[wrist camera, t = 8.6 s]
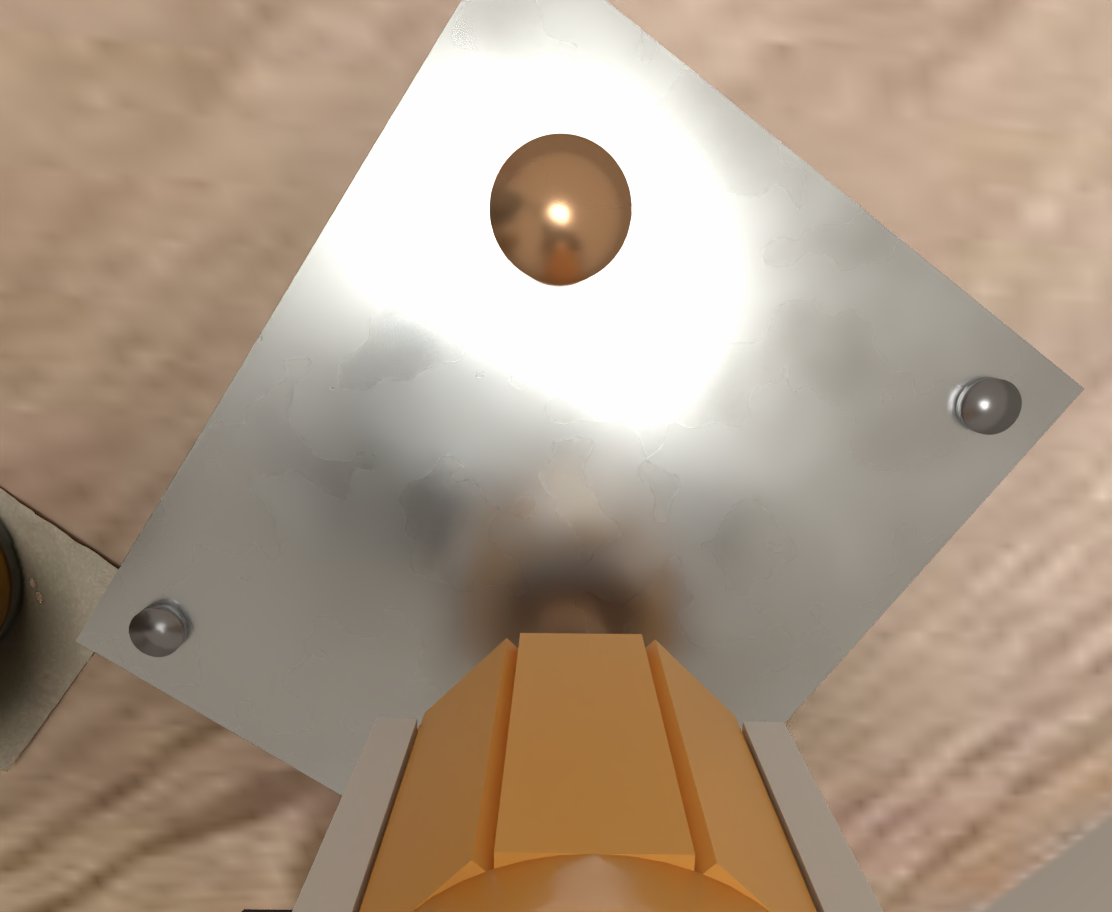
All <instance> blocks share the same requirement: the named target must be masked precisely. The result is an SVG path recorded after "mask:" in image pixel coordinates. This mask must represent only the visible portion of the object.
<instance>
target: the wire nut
mask: <svg viewBox="0 0 1112 912" xmlns="http://www.w3.org/2000/svg"><path fill="white" fill-rule="evenodd" d="M359 912H817V910H816V908H815V906H814V903H813V901H812V899H811V896H810V894H809V891H808V889H807V887H806V884H805V882H804V879H803V877H802V875H801V872H800V870H799V867H798V865H797V863H796V860H795V858H794V855H793V853H792V851H791V848H790V846H789V843H788V841H787V839H786V836H785V834H784V831H783V829H782V827H781V824H780V822H779V819H778V817H777V815H776V812H775V810H774V807H773V805H772V803H771V800H770V798H769V796H768V793H767V791H766V788H765V786H764V784H763V781H762V779H761V776H760V774H759V772H758V769H757V767H756V764H755V762H754V760H753V757H752V755H751V752H750V750H749V748H748V745H747V743H746V740H745V738H744V736H743V733H742V731H741V728H740V726H739V724H738V721H737V719H736V716H735V715H733V714H732V713H731V712H730V711H729V710H728V709H727V708H726V707H725V706H724V705H723V704H722V703H721V702H720V701H719V700H718V699H717V698H716V697H715V696H714V695H713V694H712V693H711V692H710V691H708V690H707V689H706V688H705V687H704V686H703V685H702V684H701V683H700V682H699V681H698V680H697V679H696V678H695V677H694V676H693V675H692V674H691V673H690V672H689V671H688V670H687V669H686V668H685V667H683V666H682V665H681V664H680V663H679V662H678V661H677V660H676V659H675V658H674V657H673V656H672V655H671V654H670V653H669V652H668V651H667V650H666V649H665V648H664V647H663V646H662V645H661V644H660V643H658V642H657V641H656V640H654V641H653V642H651V643H650V644H649V645H648V646H647V647H646V648H645V645H644V641H643V637H642V634H578V633H520V638H519V647H518V648H517V647H516V646H515V645H514V644H513V643H512V642H511V641H510V640H508V639H507V638H506V639H505V640H504V641H503V642H502V643H501V644H499V645H498V646H497V647H496V648H495V649H494V650H493V651H492V652H491V653H490V654H489V655H487V656H486V657H485V658H484V659H483V660H482V661H481V662H480V663H479V664H478V665H476V666H475V667H474V668H473V669H472V670H471V671H470V672H469V673H468V674H467V675H465V676H464V677H463V678H462V679H461V680H460V681H459V682H458V683H457V684H456V685H455V686H453V687H452V688H451V689H450V690H449V691H448V692H447V693H446V694H445V695H444V696H442V697H441V698H440V699H439V700H438V701H437V702H436V703H435V704H434V705H433V706H432V707H430V708H429V709H428V710H427V711H426V712H425V713H424V715H423V718H422V721H421V724H420V725H419V727H418V733H417V736H416V739H415V743H414V746H413V749H412V752H411V755H410V758H409V761H408V764H407V767H406V770H405V773H404V776H403V779H402V782H401V785H400V788H399V791H398V794H397V797H396V801H395V804H394V807H393V810H392V813H391V816H390V819H389V822H388V825H387V828H386V831H385V834H384V837H383V840H382V843H381V846H380V849H379V852H378V856H377V859H376V862H375V865H374V868H373V871H372V874H371V877H370V880H369V883H368V886H367V889H366V892H365V895H364V898H363V901H362V904H361V907H360V911H359Z"/></svg>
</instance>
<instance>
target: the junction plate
mask: <svg viewBox="0 0 1112 912" xmlns="http://www.w3.org/2000/svg"><path fill="white" fill-rule="evenodd" d="M1083 390H1084V388H1083V387H1082V386H1080V385H1079V384H1078V383H1077V382H1076V381H1074V380H1073V379H1072V378H1071V377H1069V376H1068V375H1067V374H1066V373H1064V372H1063V371H1062V370H1061V369H1060V368H1058V367H1057V366H1056V365H1055V364H1053V363H1052V362H1051V361H1050V360H1048V359H1047V358H1046V357H1045V356H1044V355H1042V354H1041V353H1040V352H1039V351H1037V350H1036V349H1035V348H1034V347H1032V346H1031V345H1030V344H1029V343H1028V342H1026V341H1025V340H1024V339H1023V338H1021V337H1020V336H1019V335H1018V334H1016V333H1015V332H1014V331H1013V330H1011V329H1010V328H1009V327H1008V326H1007V325H1005V324H1004V323H1003V322H1002V321H1000V320H999V319H998V318H997V317H995V316H994V315H993V314H992V313H991V312H989V311H988V310H987V309H986V308H984V307H983V306H982V305H981V304H979V303H978V302H977V301H976V300H975V299H973V298H972V297H971V296H970V295H968V294H967V293H966V292H965V291H963V290H962V289H961V288H960V287H959V286H957V285H956V284H955V283H954V282H952V281H951V280H950V279H949V278H947V277H946V276H945V275H944V274H943V273H941V272H940V271H939V270H938V269H936V268H935V267H934V266H933V265H931V264H930V263H929V262H928V261H927V260H925V259H924V258H923V257H922V256H920V255H919V254H918V253H917V252H915V251H914V250H913V249H912V248H911V247H909V246H908V245H907V244H906V243H904V242H903V241H902V240H901V239H899V238H898V237H897V236H896V235H894V234H893V233H892V232H891V231H890V230H888V229H887V228H886V227H885V226H883V225H882V224H881V223H880V222H878V221H877V220H876V219H875V218H874V217H872V216H871V215H870V214H869V213H867V212H866V211H865V210H864V209H862V208H861V207H860V206H859V205H858V204H856V203H855V202H854V201H853V200H851V199H850V198H849V197H848V196H846V195H845V194H844V193H843V192H842V191H840V190H839V189H838V188H837V187H835V186H834V185H833V184H832V183H830V182H829V181H828V180H827V179H826V178H824V177H823V176H822V175H821V174H819V173H818V172H817V171H816V170H814V169H813V168H812V167H811V166H810V165H808V164H807V163H806V162H805V161H803V160H802V159H801V158H800V157H798V156H797V155H796V154H795V153H793V152H792V151H791V150H790V149H789V148H787V147H786V146H785V145H784V144H782V143H781V142H780V141H779V140H777V139H776V138H775V137H774V136H773V135H771V134H770V133H769V132H768V131H766V130H765V129H764V128H763V127H761V126H760V125H759V124H758V123H757V122H755V121H754V120H753V119H752V118H750V117H749V116H748V115H747V114H745V113H744V112H743V111H742V110H741V109H739V108H738V107H737V106H736V105H734V104H733V103H732V102H731V101H729V100H728V99H727V98H726V97H725V96H723V95H722V94H721V93H720V92H718V91H717V90H716V89H715V88H713V87H712V86H711V85H710V84H709V83H707V82H706V81H705V80H704V79H702V78H701V77H700V76H699V75H697V74H696V73H695V72H694V71H693V70H691V69H690V68H689V67H688V66H686V65H685V64H684V63H683V62H681V61H680V60H679V59H678V58H676V57H675V56H674V55H673V54H672V53H670V52H669V51H668V50H667V49H665V48H664V47H663V46H662V45H660V44H659V43H658V42H657V41H656V40H654V39H653V38H652V37H651V36H649V35H648V34H647V33H646V32H644V31H643V30H642V29H641V28H640V27H638V26H637V25H636V24H635V23H633V22H632V21H631V20H630V19H628V18H627V17H626V16H625V15H624V14H622V13H621V12H620V11H619V10H617V9H616V8H615V7H614V6H612V5H611V4H610V3H609V2H608V1H606V0H461V2H460V4H459V5H458V7H457V9H456V10H455V12H454V14H453V15H452V17H451V19H450V20H449V22H448V24H447V25H446V27H445V29H444V30H443V32H442V34H441V35H440V37H439V39H438V40H437V42H436V44H435V45H434V47H433V49H432V50H431V52H430V54H429V55H428V57H427V59H426V60H425V62H424V64H423V65H422V67H421V69H420V70H419V72H418V73H417V75H416V77H415V78H414V80H413V82H412V83H411V85H410V87H409V88H408V90H407V92H406V93H405V95H404V97H403V98H402V100H401V102H400V103H399V105H398V107H397V108H396V110H395V112H394V113H393V115H392V117H391V118H390V120H389V122H388V123H387V125H386V127H385V128H384V130H383V132H382V133H381V135H380V137H379V138H378V140H377V142H376V143H375V145H374V147H373V148H372V150H371V152H370V153H369V155H368V156H367V158H366V160H365V161H364V163H363V165H362V166H361V168H360V170H359V171H358V173H357V175H356V176H355V178H354V180H353V181H352V183H351V185H350V186H349V188H348V190H347V191H346V193H345V195H344V196H343V198H342V200H341V201H340V203H339V205H338V206H337V208H336V210H335V211H334V213H333V215H332V216H331V218H330V220H329V221H328V223H327V225H326V226H325V228H324V230H323V231H322V233H321V235H320V236H319V238H318V239H317V241H316V243H315V244H314V246H313V248H312V249H311V251H310V253H309V254H308V256H307V258H306V259H305V261H304V263H303V264H302V266H301V268H300V269H299V271H298V273H297V274H296V276H295V278H294V279H293V281H292V283H291V284H290V286H289V288H288V289H287V291H286V293H285V294H284V296H283V298H282V299H281V301H280V303H279V304H278V306H277V308H276V309H275V311H274V313H273V314H272V316H271V318H270V319H269V321H268V322H267V324H266V326H265V327H264V329H263V331H262V332H261V334H260V336H259V337H258V339H257V341H256V342H255V344H254V346H253V347H252V349H251V351H250V352H249V354H248V356H247V357H246V359H245V361H244V362H243V364H242V366H241V367H240V369H239V371H238V372H237V374H236V376H235V377H234V379H233V381H232V382H231V384H230V386H229V387H228V389H227V391H226V392H225V394H224V396H223V397H222V399H221V401H220V402H219V404H218V406H217V407H216V409H215V410H214V412H213V414H212V415H211V417H210V419H209V420H208V422H207V424H206V425H205V427H204V429H203V430H202V432H201V434H200V435H199V437H198V439H197V440H196V442H195V444H194V445H193V447H192V449H191V450H190V452H189V454H188V455H187V457H186V459H185V460H184V462H183V464H182V465H181V467H180V469H179V470H178V472H177V474H176V475H175V477H174V479H173V480H172V482H171V484H170V485H169V487H168V489H167V490H166V492H165V493H164V495H163V497H162V498H161V500H160V502H159V503H158V505H157V507H156V508H155V510H154V512H153V513H152V515H151V517H150V518H149V520H148V522H147V523H146V525H145V527H144V528H143V530H142V532H141V533H140V535H139V537H138V538H137V540H136V542H135V543H134V545H133V547H132V548H131V550H130V552H129V553H128V555H127V557H126V558H125V560H124V562H123V563H122V565H121V567H120V568H119V570H118V572H117V573H116V575H115V576H114V578H113V580H112V581H111V583H110V585H109V586H108V588H107V590H106V591H105V593H104V595H103V596H102V598H101V600H100V601H99V603H98V605H97V606H96V608H95V610H94V611H93V613H92V615H91V616H90V618H89V620H88V621H87V623H86V625H85V626H84V628H83V630H82V631H81V633H80V635H79V636H78V638H77V640H76V642H78V643H80V644H82V645H83V646H85V647H87V648H88V649H90V650H92V651H94V652H95V653H97V654H99V655H100V656H102V657H104V658H106V659H107V660H109V661H111V662H113V663H114V664H116V665H118V666H119V667H121V668H123V669H125V670H126V671H128V672H130V673H131V674H133V675H135V676H137V677H138V678H140V679H142V680H144V681H145V682H147V683H149V684H150V685H152V686H154V687H156V688H157V689H159V690H161V691H162V692H164V693H166V694H168V695H169V696H171V697H173V698H174V699H176V700H178V701H180V702H181V703H183V704H185V705H187V706H188V707H190V708H192V709H193V710H195V711H197V712H199V713H200V714H202V715H204V716H205V717H207V718H209V719H211V720H212V721H214V722H216V723H218V724H219V725H221V726H223V727H224V728H226V729H228V730H230V731H231V732H233V733H235V734H236V735H238V736H240V737H242V738H243V739H245V740H247V741H249V742H250V743H252V744H254V745H255V746H257V747H259V748H261V749H262V750H264V751H266V752H267V753H269V754H271V755H273V756H274V757H276V758H278V759H280V760H281V761H283V762H285V763H286V764H288V765H290V766H292V767H293V768H295V769H297V770H298V771H300V772H302V773H304V774H305V775H307V776H309V777H310V778H312V779H314V780H316V781H317V782H319V783H321V784H323V785H324V786H326V787H328V788H329V789H331V790H333V791H335V792H336V793H338V794H340V795H341V796H342V795H343V793H344V791H345V788H346V786H347V784H348V781H349V779H350V777H351V775H352V772H353V770H354V768H355V765H356V763H357V761H358V758H359V756H360V754H361V751H362V749H363V747H364V745H365V742H366V740H367V738H368V735H369V733H370V731H371V728H372V726H373V724H374V722H375V719H376V718H417V728H418V727H419V725H420V724H421V721H422V718H423V715H424V713H425V712H426V711H427V710H428V709H429V708H430V707H432V706H433V705H434V704H435V703H436V702H437V701H438V700H439V699H440V698H441V697H442V696H444V695H445V694H446V693H447V692H448V691H449V690H450V689H451V688H452V687H453V686H455V685H456V684H457V683H458V682H459V681H460V680H461V679H462V678H463V677H464V676H465V675H467V674H468V673H469V672H470V671H471V670H472V669H473V668H474V667H475V666H476V665H478V664H479V663H480V662H481V661H482V660H483V659H484V658H485V657H486V656H487V655H489V654H490V653H491V652H492V651H493V650H494V649H495V648H496V647H497V646H498V645H499V644H501V643H502V642H503V641H504V640H505V639H506V638H507V639H508V640H510V641H511V642H512V643H513V644H514V645H515V646H516V647H517V648H518V647H519V638H520V633H578V634H642V637H643V641H644V645H645V648H646V647H647V646H648V645H649V644H650V643H651V642H653V641H654V640H656V641H657V642H658V643H660V644H661V645H662V646H663V647H664V648H665V649H666V650H667V651H668V652H669V653H670V654H671V655H672V656H673V657H674V658H675V659H676V660H677V661H678V662H679V663H680V664H681V665H682V666H683V667H685V668H686V669H687V670H688V671H689V672H690V673H691V674H692V675H693V676H694V677H695V678H696V679H697V680H698V681H699V682H700V683H701V684H702V685H703V686H704V687H705V688H706V689H707V690H708V691H710V692H711V693H712V694H713V695H714V696H715V697H716V698H717V699H718V700H719V701H720V702H721V703H722V704H723V705H724V706H725V707H726V708H727V709H728V710H729V711H730V712H731V713H732V714H733V715H735V716H736V719H737V721H738V724H739V726H740V728H741V731H742V727H743V722H784V723H785V722H786V721H787V720H788V719H789V718H790V717H791V716H792V715H793V714H794V712H795V711H796V710H797V709H798V708H799V707H800V706H801V705H802V703H803V702H804V701H805V700H806V699H807V698H808V697H809V696H810V695H811V693H812V692H813V691H814V690H815V689H816V688H817V687H818V686H819V685H820V683H821V682H822V681H823V680H824V679H825V678H826V677H827V676H828V674H829V673H830V672H831V671H832V670H833V669H834V668H835V667H836V666H837V664H838V663H839V662H840V661H841V660H842V659H843V658H844V657H845V655H846V654H847V653H848V652H849V651H850V650H851V649H852V648H853V647H854V645H855V644H856V643H857V642H858V641H859V640H860V639H861V638H862V636H863V635H864V634H865V633H866V632H867V631H868V630H869V629H870V628H871V626H872V625H873V624H874V623H875V622H876V621H877V620H878V619H879V618H880V616H881V615H882V614H883V613H884V612H885V611H886V610H887V609H888V607H889V606H890V605H891V604H892V603H893V602H894V601H895V600H896V599H897V597H898V596H899V595H900V594H901V593H902V592H903V591H904V590H905V588H906V587H907V586H908V585H909V584H910V583H911V582H912V581H913V580H914V578H915V577H916V576H917V575H918V574H919V573H920V572H921V571H922V570H923V568H924V567H925V566H926V565H927V564H928V563H929V562H930V561H931V559H932V558H933V557H934V556H935V555H936V554H937V553H938V552H939V551H940V549H941V548H942V547H943V546H944V545H945V544H946V543H947V542H948V540H949V539H950V538H951V537H952V536H953V535H954V534H955V533H956V532H957V530H958V529H959V528H960V527H961V526H962V525H963V524H964V523H965V522H966V520H967V519H968V518H969V517H970V516H971V515H972V514H973V513H974V511H975V510H976V509H977V508H978V507H979V506H980V505H981V504H982V503H983V501H984V500H985V499H986V498H987V497H988V496H989V495H990V494H991V492H992V491H993V490H994V489H995V488H996V487H997V486H998V485H999V484H1000V482H1001V481H1002V480H1003V479H1004V478H1005V477H1006V476H1007V475H1008V474H1009V472H1010V471H1011V470H1012V469H1013V468H1014V467H1015V466H1016V465H1017V463H1018V462H1019V461H1020V460H1021V459H1022V458H1023V457H1024V456H1025V455H1026V453H1027V452H1028V451H1029V450H1030V449H1031V448H1032V447H1033V446H1034V444H1035V443H1036V442H1037V441H1038V440H1039V439H1040V438H1041V437H1042V436H1043V434H1044V433H1045V432H1046V431H1047V430H1048V429H1049V428H1050V427H1051V425H1052V424H1053V423H1054V422H1055V421H1056V420H1057V419H1058V418H1059V417H1060V415H1061V414H1062V413H1063V412H1064V411H1065V410H1066V409H1067V408H1068V407H1069V405H1070V404H1071V403H1072V402H1073V401H1074V400H1075V399H1076V398H1077V396H1078V395H1079V394H1080V393H1081V392H1082V391H1083Z"/></svg>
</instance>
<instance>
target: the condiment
mask: <svg viewBox="0 0 1112 912" xmlns="http://www.w3.org/2000/svg"><path fill="white" fill-rule="evenodd" d="M118 570H119V569H117V568H116V567H114V566H113V565H111V564H110V563H108V562H107V561H106V560H104V559H103V558H102V557H101V556H100V555H98V554H97V553H95V552H94V551H92V550H91V549H89V548H87V547H85V546H83V545H81V544H79V543H77V542H76V541H74V540H73V539H71V538H70V537H69V536H68V535H67V534H65V533H64V532H62V531H61V530H60V529H58V528H57V527H55V526H54V525H53V524H51V523H50V522H48V521H46V520H44V519H42V518H40V517H39V516H37V515H36V514H35V513H34V512H33V511H32V510H31V509H29V508H28V507H26V506H24V505H23V504H21V503H20V502H18V501H17V500H16V499H15V498H13V497H12V496H10V495H9V494H8V493H6V492H5V491H4V490H3V489H1V488H0V768H2V769H4V770H5V771H8V770H9V769H10V767H11V766H12V765H13V763H14V762H15V761H16V759H17V758H18V756H19V755H20V753H21V752H22V750H23V749H24V748H25V747H26V746H27V745H28V744H29V742H30V741H31V739H32V738H33V736H34V735H35V734H36V732H37V731H38V730H39V728H40V727H41V725H42V724H43V723H44V721H45V720H46V718H47V717H48V715H49V713H50V712H51V711H52V710H53V709H54V707H55V706H56V705H57V704H58V702H59V701H60V699H61V698H62V696H63V695H64V693H65V692H66V691H67V689H68V688H69V686H70V685H71V684H72V682H73V681H74V679H75V678H76V676H77V675H78V674H79V672H80V671H81V669H82V668H83V667H84V666H85V665H86V664H87V661H88V660H89V659H90V658H91V655H92V654H93V652H94V651H92V650H90V649H88V648H87V647H85V646H83V645H82V644H80V643H78V642H76V640H77V638H78V636H79V635H80V633H81V631H82V630H83V628H84V626H85V625H86V623H87V621H88V620H89V618H90V616H91V615H92V613H93V611H94V610H95V608H96V606H97V605H98V603H99V601H100V600H101V598H102V596H103V595H104V593H105V591H106V590H107V588H108V586H109V585H110V583H111V581H112V580H113V578H114V576H115V575H116V573H117V572H118ZM31 578H33V579H34V580H35V582H36V587H35V588H32V587H31V586H30V583H29V580H30V579H31ZM36 591H38V592H40V593H41V594H42V596H43V599H44V601H43V602H42V604H41V603H39V601H38V600H37V598H36Z"/></svg>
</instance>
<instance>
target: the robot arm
mask: <svg viewBox="0 0 1112 912" xmlns="http://www.w3.org/2000/svg"><path fill="white" fill-rule="evenodd" d="M417 733H418V728H417V718H376V719H375V722H374V724H373V726H372V728H371V731H370V733H369V735H368V738H367V740H366V742H365V745H364V747H363V749H362V751H361V754H360V756H359V758H358V761H357V763H356V765H355V768H354V770H353V772H352V775H351V777H350V779H349V781H348V784H347V786H346V788H345V791H344V793H343V795H342V798H341V800H340V802H339V804H338V807H337V809H336V811H335V814H334V816H333V818H332V821H331V823H330V825H329V828H328V830H327V832H326V834H325V837H324V839H323V841H322V844H321V846H320V848H319V851H318V853H317V855H316V857H315V860H314V862H313V864H312V867H311V869H310V871H309V874H308V876H307V878H306V880H305V883H304V885H303V887H302V890H301V892H300V894H299V897H298V899H297V901H296V904H295V906H294V908H293V910H251V909H244V910H243V911H242V912H359V911H360V907H361V904H362V901H363V898H364V895H365V892H366V889H367V886H368V883H369V880H370V877H371V874H372V871H373V868H374V865H375V862H376V859H377V856H378V852H379V849H380V846H381V843H382V840H383V837H384V834H385V831H386V828H387V825H388V822H389V819H390V816H391V813H392V810H393V807H394V804H395V801H396V797H397V794H398V791H399V788H400V785H401V782H402V779H403V776H404V773H405V770H406V767H407V764H408V761H409V758H410V755H411V752H412V749H413V746H414V743H415V739H416V736H417ZM742 733H743V736H744V738H745V740H746V743H747V745H748V748H749V750H750V752H751V755H752V757H753V760H754V762H755V764H756V767H757V769H758V772H759V774H760V776H761V779H762V781H763V784H764V786H765V788H766V791H767V793H768V796H769V798H770V800H771V803H772V805H773V807H774V810H775V812H776V815H777V817H778V819H779V822H780V824H781V827H782V829H783V831H784V834H785V836H786V839H787V841H788V843H789V846H790V848H791V851H792V853H793V855H794V858H795V860H796V863H797V865H798V867H799V870H800V872H801V875H802V877H803V879H804V882H805V884H806V887H807V889H808V891H809V894H810V896H811V899H812V901H813V903H814V906H815V908H816V910H817V912H883V910H882V908H881V906H880V904H879V902H878V900H877V898H876V896H875V894H874V892H873V891H872V889H871V887H870V885H869V883H868V881H867V879H866V877H865V875H864V873H863V872H862V870H861V868H860V866H859V864H858V862H857V860H856V858H855V856H854V854H853V852H852V851H851V849H850V847H849V845H848V843H847V841H846V839H845V837H844V835H843V833H842V831H841V830H840V828H839V826H838V824H837V822H836V820H835V818H834V816H833V814H832V812H831V811H830V809H829V807H828V805H827V803H826V801H825V799H824V797H823V795H822V793H821V791H820V790H819V788H818V786H817V784H816V782H815V780H814V778H813V776H812V774H811V772H810V770H809V769H808V767H807V765H806V763H805V761H804V759H803V757H802V755H801V753H800V751H799V750H798V748H797V746H796V744H795V742H794V740H793V738H792V736H791V734H790V732H789V730H788V729H787V727H786V725H785V723H784V722H743V727H742Z"/></svg>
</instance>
